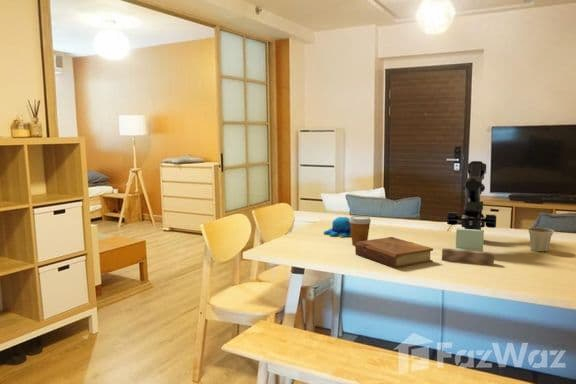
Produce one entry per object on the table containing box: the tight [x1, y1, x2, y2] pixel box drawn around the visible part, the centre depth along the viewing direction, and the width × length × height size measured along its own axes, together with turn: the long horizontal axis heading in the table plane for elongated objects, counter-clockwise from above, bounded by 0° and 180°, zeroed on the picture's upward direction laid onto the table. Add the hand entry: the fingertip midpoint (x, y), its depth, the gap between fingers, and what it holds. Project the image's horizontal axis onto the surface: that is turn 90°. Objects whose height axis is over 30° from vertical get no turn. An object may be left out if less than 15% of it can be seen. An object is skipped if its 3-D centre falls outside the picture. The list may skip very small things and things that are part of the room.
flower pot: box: [527, 227, 555, 252], centre depth 188 cm, size 9×9×9 cm
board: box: [441, 247, 495, 266], centre depth 172 cm, size 18×2×4 cm, turn 66°
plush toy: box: [323, 216, 351, 239], centre depth 223 cm, size 17×17×8 cm
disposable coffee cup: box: [349, 215, 372, 247], centre depth 200 cm, size 10×10×12 cm
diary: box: [355, 236, 434, 269], centre depth 178 cm, size 23×19×6 cm
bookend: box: [455, 227, 485, 252], centre depth 178 cm, size 12×10×10 cm
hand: (469, 237), depth 184 cm, fingers closed, pressing on bookend
